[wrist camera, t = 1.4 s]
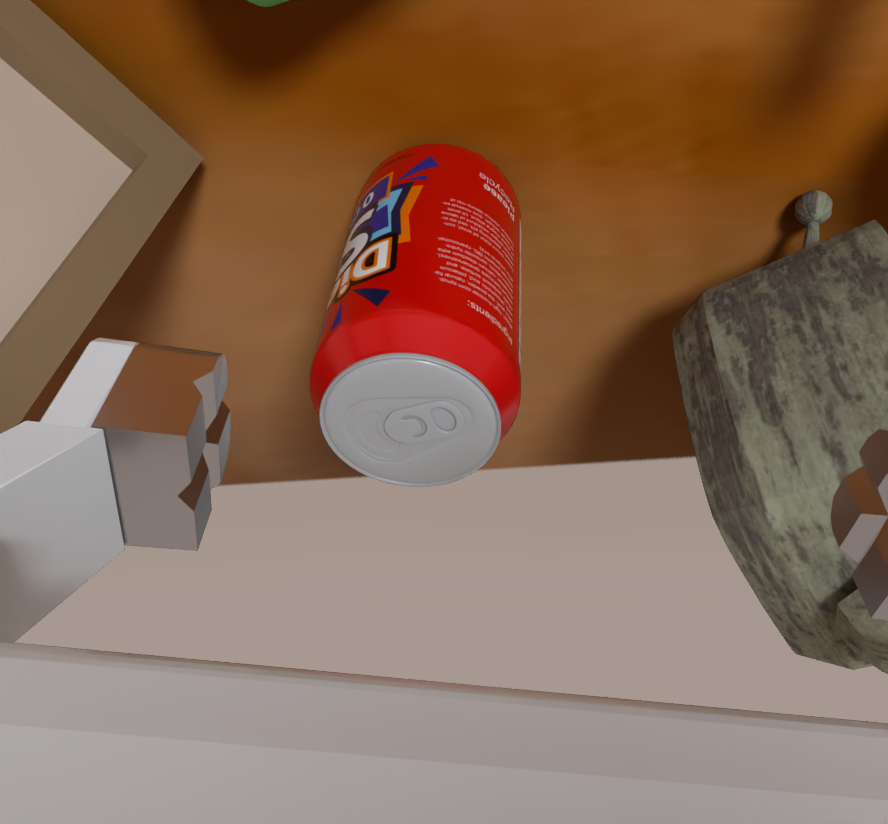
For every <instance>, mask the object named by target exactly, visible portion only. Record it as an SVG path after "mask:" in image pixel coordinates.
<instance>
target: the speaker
mask: <svg viewBox="0 0 888 824" xmlns="http://www.w3.org/2000/svg"><path fill="white" fill-rule="evenodd" d="M247 1H249V2H251V3H253V4H256V5H258V6H263V7H270V6H274V5H277V4H280V3H283V2H286V1H289V0H247Z"/></svg>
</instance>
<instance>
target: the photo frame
mask: <svg viewBox="0 0 888 824" xmlns="http://www.w3.org/2000/svg"><path fill="white" fill-rule="evenodd" d="M202 160H203V157H202V156H201V155H200V154H199V153H198V152H197V151H196V150H195V149H194V148H192V147H191V146H190V145H189V144H188V143H187V142H186V141H185V140H184V139H183V138H181V137H180V136H179V135H178V134H177V133H176V132H175V131H174V130H173V129H171V128H170V127H169V126H168V125H167V124H166V123H165V122H164V121H163V120H162V119H160V118H159V117H158V116H157V115H156V114H155V113H154V112H153V111H152V110H151V109H149V108H148V107H147V106H146V105H145V104H144V103H143V102H142V101H141V100H140V99H138V98H137V97H136V96H135V95H134V94H133V93H132V92H131V91H130V90H129V89H127V88H126V87H125V86H124V85H123V84H122V83H121V82H120V81H119V80H118V79H116V78H115V77H114V76H113V75H112V74H111V73H110V72H109V71H108V70H107V69H105V68H104V67H103V66H102V65H101V64H100V63H99V62H98V61H97V60H96V59H94V58H93V57H92V56H91V55H90V54H89V53H88V52H87V51H86V50H85V49H83V48H82V47H81V46H80V45H79V44H78V43H77V42H76V41H75V40H74V39H72V38H71V37H70V36H69V35H68V34H67V33H66V32H65V31H64V30H63V29H61V28H60V27H59V26H58V25H57V24H56V23H55V22H54V21H53V20H52V19H50V18H49V17H48V16H47V15H46V14H45V13H44V12H43V11H42V10H41V9H39V8H38V7H37V6H36V5H35V4H34V3H33V2H32V1H31V0H0V434H1V433H3V432H5V431H7V430H9V429H11V428H13V427H15V426H17V425H19V423H20V422H21V421H22V419H23V418H24V416H25V415H26V413H27V412H28V410H29V409H30V408H31V406H32V405H33V403H34V402H35V400H36V399H37V397H38V396H39V395H40V393H41V392H42V390H43V389H44V387H45V386H46V384H47V383H48V382H49V380H50V379H51V377H52V376H53V374H54V373H55V372H56V370H57V369H58V367H59V366H60V364H61V363H62V361H63V360H64V359H65V357H66V356H67V354H68V353H69V351H70V350H71V348H72V347H73V346H74V344H75V343H76V341H77V340H78V338H79V337H80V335H81V334H82V333H83V331H84V330H85V328H86V327H87V325H88V324H89V322H90V321H91V320H92V318H93V317H94V315H95V314H96V312H97V311H98V310H99V308H100V307H101V305H102V304H103V302H104V301H105V299H106V298H107V297H108V295H109V294H110V292H111V291H112V289H113V288H114V286H115V285H116V284H117V282H118V281H119V279H120V278H121V276H122V275H123V273H124V272H125V271H126V269H127V268H128V266H129V265H130V263H131V262H132V261H133V259H134V258H135V256H136V255H137V253H138V252H139V250H140V249H141V248H142V246H143V245H144V243H145V242H146V240H147V239H148V237H149V236H150V235H151V233H152V232H153V230H154V229H155V227H156V226H157V224H158V223H159V222H160V220H161V219H162V217H163V216H164V214H165V213H166V212H167V210H168V209H169V207H170V206H171V204H172V203H173V201H174V200H175V199H176V197H177V196H178V194H179V193H180V191H181V190H182V188H183V187H184V186H185V184H186V183H187V181H188V180H189V178H190V177H191V175H192V174H193V173H194V171H195V170H196V168H197V167H198V165H199V164H200V163H201V161H202Z"/></svg>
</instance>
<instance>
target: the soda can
mask: <svg viewBox="0 0 888 824" xmlns="http://www.w3.org/2000/svg"><path fill="white" fill-rule="evenodd" d="M310 394H311V399H312V402H313V405H314V407H315V410H316V412H317V414H318V415H319V418H320V425H321V429H322V432H323V435H324V437H325V439H326V441H327V443H328V444H329V446H330V447H331V449H332V450H333V451H334V452H335V453H336V455H337V456H338V457H339V458H340V459H342V460H343V461H344V462H345V463H346V464H348V465H349V466H350V467H352V468H353V469H355V470H357V471H358V472H360V473H362V474H364V475H366V476H368V477H371V478H373V479H376V480H379V481H382V482H385V483H389V484H394V485H400V486H408V487H429V486H438V485H443V484H447V483H451V482H454V481H457V480H460V479H462V478H464V477H466V476H468V475H470V474H472V473H474V472H475V471H477V470H478V469H479V468H481V467H482V466H483V465H484V464H485V463H486V462H487V461H488V460H489V459H490V457H491V456H492V455H493V453H494V451H495V450H496V448H497V445H498V443H499V441H500V440H501V439H502V438H503V437H504V436H505V435H506V434H507V432H508V431H509V429H510V428H511V426H512V424H513V422H514V420H515V418H516V415H517V412H518V408H519V404H520V396H521V213H520V208H519V204H518V200H517V197H516V194H515V192H514V190H513V188H512V186H511V184H510V183H509V181H508V180H507V178H506V177H505V176H504V175H503V173H502V172H501V171H500V170H499V169H498V168H497V167H496V166H495V165H493V164H492V163H491V162H490V161H488V160H487V159H485V158H484V157H482V156H480V155H479V154H477V153H475V152H472V151H470V150H467V149H464V148H461V147H458V146H453V145H446V144H425V145H418V146H414V147H410V148H407V149H404V150H402V151H400V152H397V153H396V154H394V155H392V156H390V157H389V158H387V159H386V160H385V161H383V162H382V163H381V164H380V165H379V166H378V167H377V168H376V169H375V170H374V171H373V172H372V173H371V175H370V176H369V178H368V179H367V181H366V183H365V184H364V186H363V188H362V191H361V193H360V196H359V199H358V202H357V205H356V208H355V212H354V216H353V219H352V223H351V226H350V230H349V233H348V237H347V240H346V244H345V247H344V251H343V254H342V258H341V261H340V265H339V268H338V272H337V275H336V279H335V282H334V286H333V289H332V293H331V296H330V300H329V303H328V307H327V310H326V314H325V317H324V321H323V324H322V328H321V331H320V335H319V338H318V342H317V345H316V349H315V352H314V356H313V360H312V364H311V369H310Z"/></svg>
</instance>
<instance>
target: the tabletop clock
mask: <svg viewBox="0 0 888 824" xmlns="http://www.w3.org/2000/svg"><path fill="white" fill-rule="evenodd" d="M832 203H833V201H832V200H831V198H830V197H829V196H828V195H827V194H826V193H825V192H822V191H818V190H813V191H809V192H806V193H804V194H803V195H802V196H801V197H800V198H799V199H798V200H797V202H796V203H795V217H796V218H797V219H798V220H799V222H800V223H801V224H803V225H806V231H805V236H804V242H803V248H802V250H800V251H798V252H796V253H793V254H791V255H788V256H786V257H784V258H781V259H779V260H777V261H774V262H772V263H769V264H767V265H765V266H762V267H760V268H757V269H755V270H753V271H750V272H748V273H746V274H743V275H741V276H738V277H736V278H734V279H731V280H729V281H726V282H724V283H722V284H719V285H717V286H715V287H712V288H710V289H707V290H705V291H703V292H702V293H701V295H700V296H699V297H698V298H697V300H696V301H695V302H694V303H693V305H692V306H691V307H690V308H689V310H688V311H687V312H686V313H685V315H684V316H683V317H682V318H681V320H680V321H679V322H678V323H677V325H676V326H675V327H674V328H673V346H674V353H675V358H676V364H677V369H678V375H679V380H680V386H681V391H682V397H683V401H684V406H685V410H686V415H687V419H688V424H689V428H690V433H691V437H692V442H693V446H694V451H695V455H696V459H697V463H698V467H699V471H700V475H701V479H702V482H703V486H704V490H705V493H706V496H707V499H708V503H709V506H710V509H711V513H712V516H713V518H714V520H715V522H716V524H717V526H718V529H719V531H720V532H721V535H722V537H723V539H724V541H725V543H726V545H727V547H728V549H729V551H730V552H731V554H732V556H733V557H734V559H735V561H736V563H737V564H738V566H739V568H740V569H741V571H742V573H743V574H744V576H745V578H746V579H747V581H748V583H749V584H750V586H751V588H752V589H753V591H754V593H755V594H756V596H757V598H758V599H759V601H760V602H761V604H762V606H763V608H764V609H765V610H766V612H767V614H768V615H769V617H770V618H771V619H772V621H773V622H774V624H775V626H776V627H777V628H778V630H779V631H780V633H781V634H782V636H783V637H784V639H785V640H786V642H787V643H788V645H789V646H790V647H791V649H792V650H793V651H794V652H795V653H796V654H798V655H801V656H805V657H809V658H812V659H816V660H819V661H823V662H827V663H830V664H835V665H838V666H842V667H845V668H849V669H853V670H854V669H859V668H864V667H868V666H875V667H876V668H878V669H879V670H881V671H882V672H885V673H887V674H888V620H883V619H875V618H871V616H870V614H869V612H868V610H867V608H866V605H865V603H864V601H863V599H862V597H861V594H860V592H859V590H858V588H857V586H856V584H855V581H854V579H853V577H852V574H853V571H854V569H855V567H856V565H857V562H856V561H854V560H853V559H852V558H851V557H850V556H848V555H847V554H846V553H845V552H844V551H843V550H841V549H840V548H839V546H838V543H837V541H836V539H835V536H834V534H833V530H832V524H831V517H830V516H831V509H832V502H833V496H834V494H835V492H836V491H837V489H838V487H839V485H840V483H841V481H842V479H843V478H844V477H845V476H847V475H849V474H850V473H852V472H854V471H855V470H857V469H859V468H860V467H862V462H861V459H860V455H859V451H860V449H861V448H862V446H863V445H864V443H865V441H866V440H867V438H868V437H869V436H871V435H872V434H873V433H874V432H876V431H877V430H878V429H883V430H888V234H887V233H886V231H885V230H884V229H883V227H882V226H881V225H880V224H879V223H878V222H877V221H876V220H875V219H874V220H872V221H870V222H867V223H865V224H862V225H860V226H858V227H855V228H853V229H850V230H848V231H846V232H843V233H841V234H839V235H836V236H834V237H831V238H829V239H827V240H824V241H822V242H820V238H819V225H821V224H823V223H824V222H825V221H826V220H827V219H828V218H829V217H830V216H831V214H832Z"/></svg>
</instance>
